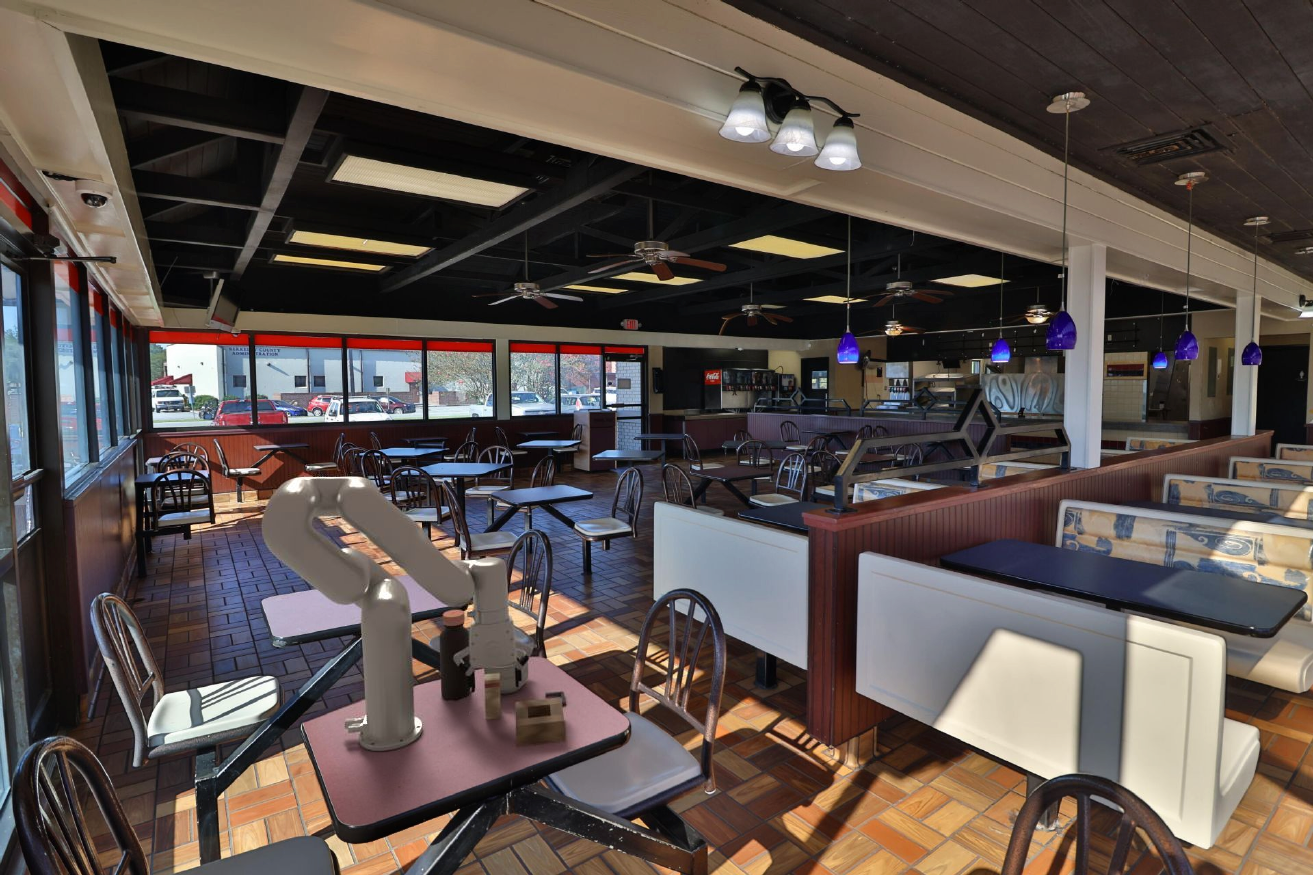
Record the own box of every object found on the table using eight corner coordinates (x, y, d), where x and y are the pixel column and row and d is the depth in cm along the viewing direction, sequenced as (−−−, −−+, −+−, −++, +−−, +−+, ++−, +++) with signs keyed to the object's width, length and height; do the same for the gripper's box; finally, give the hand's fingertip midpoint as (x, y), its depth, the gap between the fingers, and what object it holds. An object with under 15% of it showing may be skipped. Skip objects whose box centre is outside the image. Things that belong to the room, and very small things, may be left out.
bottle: (454, 703, 154) (452, 620, 152) (435, 695, 158) (432, 614, 156) (476, 691, 160) (474, 611, 158) (457, 684, 163) (455, 606, 161)
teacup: (503, 703, 154) (502, 670, 153) (474, 689, 161) (473, 658, 160) (547, 681, 165) (546, 650, 164) (518, 669, 172) (517, 639, 171)
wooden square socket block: (516, 746, 136) (515, 725, 136) (515, 721, 146) (515, 702, 146) (564, 740, 139) (564, 720, 138) (561, 716, 148) (561, 697, 148)
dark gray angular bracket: (529, 709, 151) (529, 706, 151) (528, 697, 157) (528, 694, 157) (565, 705, 153) (565, 702, 153) (563, 693, 159) (563, 690, 159)
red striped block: (485, 719, 147) (484, 680, 146) (486, 711, 150) (485, 674, 149) (500, 717, 148) (499, 679, 147) (500, 710, 151) (499, 672, 150)
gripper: (449, 624, 141) (454, 700, 143) (531, 616, 145) (535, 689, 147) (452, 611, 149) (457, 683, 150) (530, 604, 152) (533, 674, 154)
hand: (495, 686), depth 149 cm, fingers open, 9 cm apart
